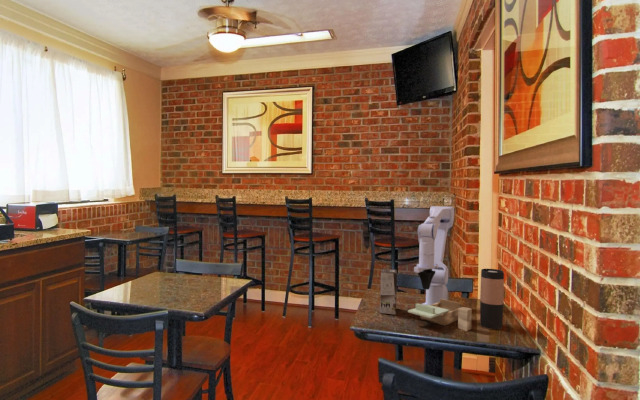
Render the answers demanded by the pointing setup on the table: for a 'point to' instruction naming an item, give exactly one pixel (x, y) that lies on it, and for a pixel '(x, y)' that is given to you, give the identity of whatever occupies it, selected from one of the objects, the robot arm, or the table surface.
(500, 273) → the travel mug
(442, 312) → the cabinet door
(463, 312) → the wooden block
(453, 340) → the table surface
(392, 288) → the coffee box
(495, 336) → the table surface
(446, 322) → the wooden box
